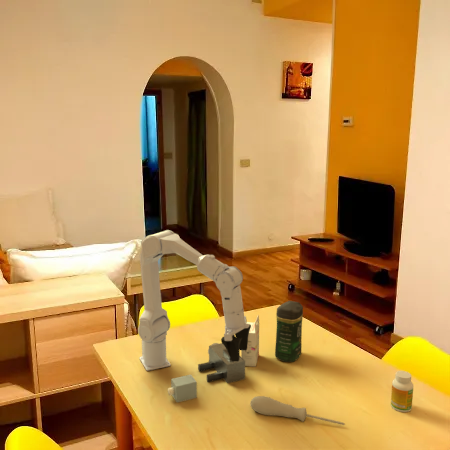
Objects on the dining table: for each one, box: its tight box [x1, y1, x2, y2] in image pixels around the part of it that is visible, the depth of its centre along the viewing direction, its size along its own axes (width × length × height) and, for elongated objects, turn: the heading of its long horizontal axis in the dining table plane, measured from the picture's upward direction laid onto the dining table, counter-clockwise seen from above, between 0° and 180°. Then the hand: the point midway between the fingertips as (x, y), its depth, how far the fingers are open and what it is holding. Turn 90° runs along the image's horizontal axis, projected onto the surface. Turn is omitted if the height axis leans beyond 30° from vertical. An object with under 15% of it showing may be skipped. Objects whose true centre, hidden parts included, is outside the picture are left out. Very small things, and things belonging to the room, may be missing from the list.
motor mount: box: [197, 342, 246, 384], centre depth 145 cm, size 16×11×7 cm
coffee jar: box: [274, 300, 304, 363], centre depth 154 cm, size 10×8×19 cm
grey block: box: [167, 374, 198, 403], centre depth 131 cm, size 4×8×5 cm, turn 115°
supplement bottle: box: [390, 370, 414, 413], centre depth 126 cm, size 5×5×10 cm
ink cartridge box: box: [240, 314, 260, 367], centre depth 152 cm, size 9×5×15 cm, turn 168°
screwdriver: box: [250, 395, 346, 426], centre depth 122 cm, size 5×25×4 cm, turn 71°
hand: (239, 355), depth 134 cm, fingers open, 7 cm apart
